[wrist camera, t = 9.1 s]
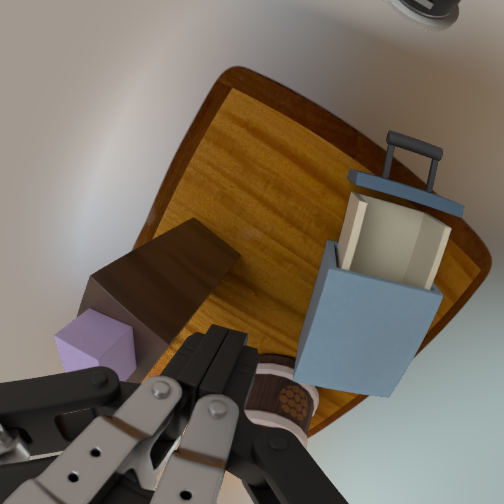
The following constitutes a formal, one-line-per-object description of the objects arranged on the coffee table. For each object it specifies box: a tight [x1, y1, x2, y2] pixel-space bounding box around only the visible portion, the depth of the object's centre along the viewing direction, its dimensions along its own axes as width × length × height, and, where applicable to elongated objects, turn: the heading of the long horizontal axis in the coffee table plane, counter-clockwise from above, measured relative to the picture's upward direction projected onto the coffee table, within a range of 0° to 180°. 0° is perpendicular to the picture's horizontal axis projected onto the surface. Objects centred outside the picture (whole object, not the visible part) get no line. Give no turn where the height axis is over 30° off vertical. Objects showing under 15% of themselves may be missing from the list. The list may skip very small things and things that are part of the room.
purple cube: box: [54, 308, 137, 382], centre depth 19 cm, size 4×4×4 cm
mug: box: [244, 355, 319, 449], centre depth 37 cm, size 20×15×15 cm
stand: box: [77, 218, 240, 384], centre depth 30 cm, size 8×8×20 cm
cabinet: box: [292, 240, 443, 398], centre depth 32 cm, size 15×13×10 cm
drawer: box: [335, 131, 464, 290], centre depth 28 cm, size 18×11×8 cm, turn 170°
